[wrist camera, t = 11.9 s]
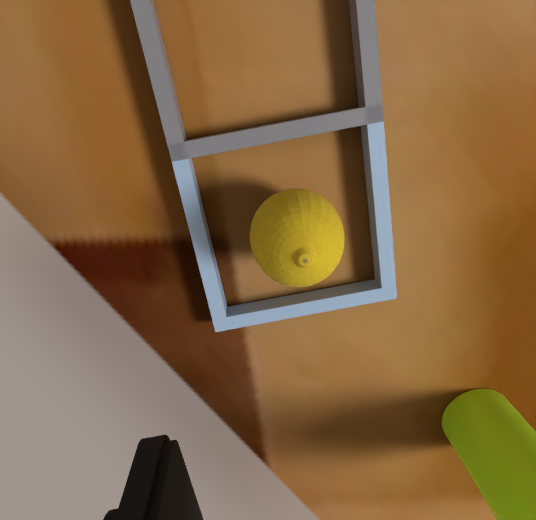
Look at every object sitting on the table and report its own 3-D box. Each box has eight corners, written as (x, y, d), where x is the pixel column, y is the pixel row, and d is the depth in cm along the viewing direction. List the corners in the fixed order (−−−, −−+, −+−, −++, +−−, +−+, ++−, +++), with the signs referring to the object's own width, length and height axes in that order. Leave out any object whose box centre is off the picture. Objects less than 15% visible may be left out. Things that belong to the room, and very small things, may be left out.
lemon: (233, 227, 28) (228, 271, 21) (282, 161, 27) (297, 183, 20) (295, 271, 30) (312, 327, 22) (346, 210, 28) (382, 249, 21)
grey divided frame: (113, -88, 22) (103, -102, 20) (354, -136, 22) (362, -153, 20) (216, 321, 31) (215, 332, 29) (389, 288, 31) (396, 298, 29)
